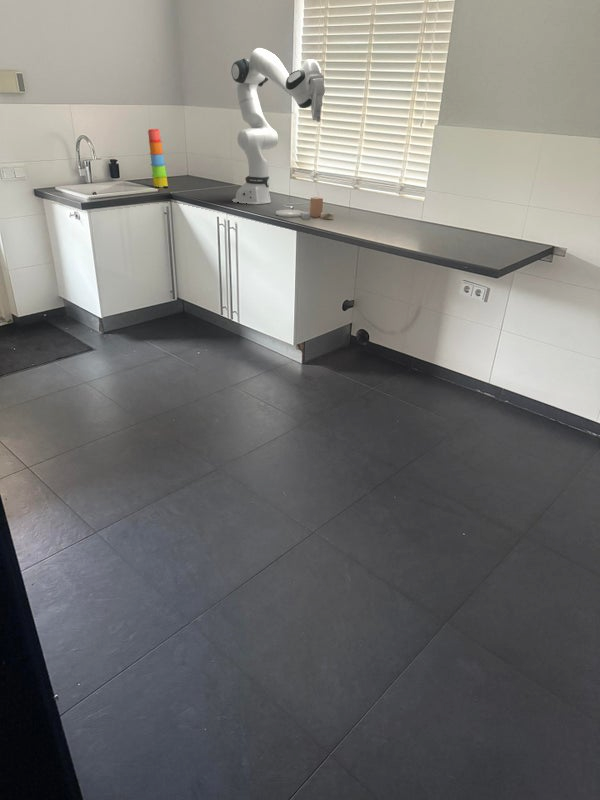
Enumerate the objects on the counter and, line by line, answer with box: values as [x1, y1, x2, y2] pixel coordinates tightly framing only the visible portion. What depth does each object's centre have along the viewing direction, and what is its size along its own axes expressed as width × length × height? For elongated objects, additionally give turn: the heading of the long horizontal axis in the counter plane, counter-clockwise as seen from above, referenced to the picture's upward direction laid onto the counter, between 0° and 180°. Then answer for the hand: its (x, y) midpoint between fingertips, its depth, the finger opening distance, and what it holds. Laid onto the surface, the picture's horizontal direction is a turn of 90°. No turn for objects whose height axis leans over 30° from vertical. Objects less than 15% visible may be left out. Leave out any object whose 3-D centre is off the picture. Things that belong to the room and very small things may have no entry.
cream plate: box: [275, 209, 304, 218], centre depth 297 cm, size 15×15×1 cm
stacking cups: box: [147, 128, 169, 187], centre depth 362 cm, size 10×10×35 cm
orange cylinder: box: [309, 196, 324, 218], centre depth 293 cm, size 4×4×9 cm
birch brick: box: [320, 212, 334, 220], centre depth 288 cm, size 6×3×3 cm, turn 97°
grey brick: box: [300, 211, 311, 220], centre depth 289 cm, size 6×3×3 cm, turn 17°
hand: (319, 113), depth 268 cm, fingers open, 8 cm apart
